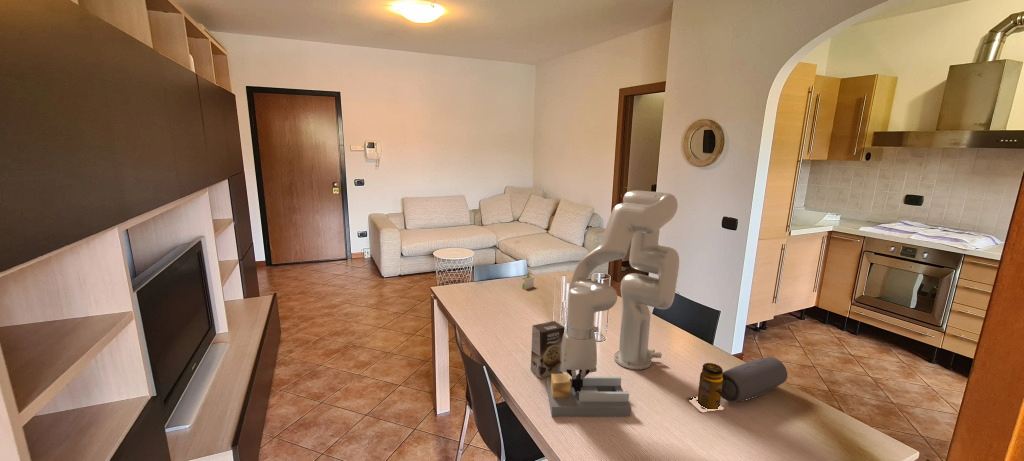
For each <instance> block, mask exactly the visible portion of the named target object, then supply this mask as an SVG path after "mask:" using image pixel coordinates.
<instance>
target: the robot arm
mask: <svg viewBox="0 0 1024 461" xmlns="http://www.w3.org/2000/svg"><path fill="white" fill-rule="evenodd" d="M678 205H679V204H678V199H677V198H676V196H675V195H674V194H672V193H668V192H658V191H647V190H630V191H626V193H624V196H623V198H622V202H620V203H618V204H616V205H615V206H614V207H613V209H612V210H611V212H610V216H609V218H608V222H607V224H606V226H605V230H604V232H603V234H602V237H601V239H600V242H599V244H598V246H597V247H595V248H594V249H593V250H591V251H590V252H589V253H588V254H586V255H585V256H584V257H583V258H582V259H581V260H580V261H579V262H578V263H577V265H576V267H575V269H574V272H573V275H572V277H571V280H570V282H569V286H568V293H567V308H566V309H567V310H566V311H567V312H566V331H564V334H563V338H562V343H561V351H560V362H561V364H560V367H559V369H560V371H561V373H564V374H568V375H569V377H571V379H572V388H574V390H575V392H577V391H578V392H581V388H582V387H583V379H584V378H585V376H588V375H589V374H590V373H595V372H597V364H598V353H597V351H598V350H597V341H596V335H595V333H596V332H599V330H600V329H599V327H598V326H595V325H594V324H595V322H594V321H595V313H598V312H606V311H609V310H611V309H612V308H613V307H614V306H615V305H616V303H617V301H618V292H617V290H616V289H615V288H614V287H613V286H611V285H608V284H607V283H602V282H598V281H595V280H592V279H589V277H590V275H591V274H592V272H593V271H594V270H595V269H596V268H598V267H599V266H601V265H603V264H606V263H610V262H613V261H618V260H621V259H624V258H626V257H627V255H628V252H629V260H628V261H629V265H630V267H631V268H632V269H635V270H638V271H641V272H645V273H649V274H654V275H657V276H658V278H656V277H652V276H650V275H646V274H641V273H635V272H634V273H633V272H632V273H628V274H626V275H624V276H623V278H622V279H621V282H620V293H621V294H620V295H621V320H620V321H621V322H620V331H619V332H620V336H619V347H618V348H619V349H618V350H617V351H616V352H615V353H614V356H613V358H614V361H615V362H616V363H617V364H618V365H619V366H621V367H623V368H627V369H630V370H637V371H638V370H645V369H648V368H649V367H650V366H651V365H652V359H661V358H662V352H661V351H660V352H659V351H656V350H655V349H649V340H650V339H649V338H650V337H649V336H650V327H651V312H650V308H649V307H652V308H654V309H658V310H667V309H668V310H669V309H670V307H671V306H672V305H673V302H674V301H675V300H674V299H675V295H676V290H677V289H676V288H677V282H678V276H679V269H680V255H679V253H678V251H677V250H676V249H675V248H672V247H669V246H666V245H665V246H664V245H660V244H659V239H660V238H659V237H660V229H662V228H663V227H664V226H665V225H666V224H668V223H669V222H670V221H671V220H672V219H673V218H674V216H676V214H677V210H678V208H679V207H678ZM629 249H630V250H629ZM577 371H578V373H577Z"/></svg>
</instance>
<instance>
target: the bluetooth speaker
mask: <svg viewBox="0 0 1024 461" xmlns="http://www.w3.org/2000/svg"><path fill="white" fill-rule="evenodd" d="M722 377H723V384H722V392H721V399H723V400H725V401H727V402H728V403H739V402H742V401H743V400H744V401H747V400H746V399H749V398H752V397H754V398H756V397H759V396H761V395H764V394H766V393H767V392H770V391H771V390H773V389H775V388H777V387H778V386H781V385H782V384H784V383H785V382H786V381H787V380H788V371H787V368H786V367H785V364H784V363H783V362H782V361H781V360H780V359H778V358H776V357H771V356H768V357H762V358H757V359H755V360H751V361H749V362H745V363H742V364H740V365H736V366H734V367H732V368H729V369H726V370H725V371H724V370H723V372H722ZM755 396H756V397H755ZM752 399H753V398H752ZM749 400H750V399H749Z"/></svg>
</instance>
